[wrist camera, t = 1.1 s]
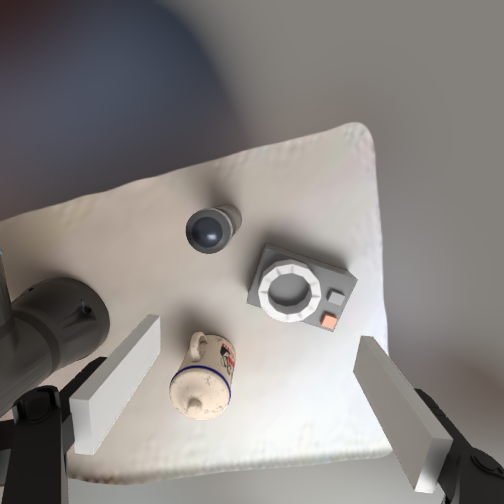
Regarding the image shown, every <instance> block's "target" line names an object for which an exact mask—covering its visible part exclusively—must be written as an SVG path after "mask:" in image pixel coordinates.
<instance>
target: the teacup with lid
mask: <svg viewBox="0 0 504 504" xmlns="http://www.w3.org/2000/svg"><path fill="white" fill-rule="evenodd" d="M235 360H236V355H235V351H234V349H233V347H232V345H231V344H230V343H229V342H228V341H227V340H225V339H224V338H222V337H219V336H216V335H204V333H202V332H196V333H194V334H193V336H192V338H191V341H190V348H189V350H188V352H187V354H186V356H185V358H184V360H183V362H182V364H181V366H180V368H179V370H178V372H177V373H176V374H175V375H174V377H173V378H172V380H171V383H170V398H171V401H172V403H173V405H174V406H175V408H176V409H177V410H178V411H179V412H180V413H182V414H183V415H185V416H187V417H189V418H192V419H196V420H208V419H212V418H214V417H216V416H218V415H220V414H221V413H222V412H223V411H224V410H225V409H226V407H227V405H228V404H229V401H230V397H231V390H230V388H231V383H232V377H233V371H234V366H235Z"/></svg>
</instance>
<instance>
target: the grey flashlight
mask: <svg viewBox="0 0 504 504" xmlns="http://www.w3.org/2000/svg"><path fill="white" fill-rule="evenodd" d="M241 222H242V218H241V214H240V212H239V211H238V210H237V209H236V208H235V207H233V206H231V205H222V206H218V207H214V208H206V209H202V210H199V211H198V212H196V213H195V214H193V215H192V216H191V217H190V219H189V220H188V222H187V225H186V237H187V240H188V242H189V243H190V245H191V246H192V247H193V248H194V249H196V250H197V251H199V252H201V253H205V254H212V253H216V252H218V251H220V250H222V249H223V248H225V247H226V246H227V244H228V243H229V242H230V240H231V238H232V237H233V235H234V234H235V233H236V231H237V230H238V229H239V228H240V226H241Z"/></svg>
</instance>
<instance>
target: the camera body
mask: <svg viewBox="0 0 504 504" xmlns="http://www.w3.org/2000/svg"><path fill="white" fill-rule="evenodd" d="M357 280H358V279H356V278H355V277H354V276H353V275H352V274H351V273H350V272H349V271H347V270H344V269H341V268H338V267H335V266H332V265H329V264H326V263H323V262H320V261H317V260H314V259H311V258H309V257H306V256H303V255H300V254H297V253H294V252H291V251H288V250H285V249H282V248H279V247H276V246H273V245H270V244H267V243H266V244H265V247H264V250H263V253H262V256H261V258H260V261H259V264H258V267H257V270H256V272H255V275H254V278H253V281H252V284H251V286H250V289H249V292H248V297H247V303H248V304H251V305H254V306H257V307H260V308H263V309H264V310H265V311H266V312H267V313H268V314H269V315H270V317H271V318H274V319H277V320H280V321H283V322H286V323H288V322H295V321H301V322H304V323H307V324H310V325H313V326H316V327H319V328H322V329H325V330H328V331H331V332H333V331H334V329H335V327H336V325H337V322H338V320H339V318H340V316H341V314H342V312H343V310H344V308H345V306H346V304H347V301H348V299H349V297H350V295H351V293H352V291H353V289H354V287H355V285H356V283H357Z"/></svg>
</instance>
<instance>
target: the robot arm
mask: <svg viewBox="0 0 504 504" xmlns="http://www.w3.org/2000/svg"><path fill="white" fill-rule="evenodd" d="M1 254H2V250H0V418H1V417H2V416H3V415H4V414H6V413H7V412H8V411H9V410H10V409H11V408H12V411H13V417H14V419H11V420H6V421H0V484H4V483H5V486H4V491H3V497H2V503H1V504H68V472H67V451H68V450H69V449H70V447H71V446H72V445H73V443H74V445H75V453H77V454H86V455H94V454H95V452H96V451H97V449H98V448H99V446H100V445H101V443H102V442H103V440H104V439H105V437H106V435H107V434H108V432H109V431H110V429H111V428H112V426H113V425H114V423H115V422H116V420H117V418H118V417H119V415H120V414H121V412H122V411H123V409H124V408H125V406H126V404H127V403H128V401H129V400H130V398H131V397H132V395H133V394H134V392H135V391H136V389H137V387H138V386H139V384H140V383H141V381H142V380H143V378H144V377H145V375H146V374H147V372H148V370H149V369H150V367H151V366H152V364H153V363H154V361H155V360H156V358H157V357H158V355H159V353H160V315H150V314H149V315H148V316H147V317H146V318H145V319H144V320H143V321H142V322H141V323H140V324H139V325H138V326H137V327H136V328H135V329H134V330H133V331H132V333H131V334H130V335H129V336H128V337H127V338H126V339H125V340H124V341H123V342H122V343H121V344H120V345H119V346H118V347H117V348H116V349H115V350H114V352H113V353H112V354H111V355H110V356H109V357H98V358H97V359H95V360H93V361H92V362H90V363H89V364H88V365H87V366H86V367H85V368H84V369H82V370H81V372H79V373H78V374H77V375H76V376H75V378H74V379H72V380H71V381H70V382H69V383H68V384H67V385H66V386H65V387H64V388H63V389H62V390H61V391H60V392H59V391H58V389H57V387H55V386H52V385H45V386H41V387H37V386H38V385H39V384H40V383H42V382H43V381H44V380H45V379H46V378H48V377H49V376H50V375H51V374H52V373H53V372H55V371H57V370H59V369H61V368H63V367H65V366H67V365H69V364H71V363H73V362H75V361H78V360H81V359H83V358H85V357H87V356H89V355H90V354H92V353H93V352H94V351H95V350H96V349H97V348H98V347H100V346H101V345H102V343H103V342H104V341H105V339H106V338H107V335H108V332H109V326H110V322H109V315H108V312H107V309H106V307H105V305H104V303H103V302H102V300H101V299H100V297H99V296H98V295H97V294H96V293H95V292H94V291H93V290H92V289H90V288H89V287H88V286H86V285H84V284H82V283H81V282H78V281H76V280H73V279H68V278H52V279H48V280H45V281H43V282H40V283H38V284H35V285H33V286H32V287H30V288H28V289H27V290H26V291H25V292H23V293H22V295H21V296H19V297H18V298H16V299H15V300H14V301H13V302H12V303H11V301H10V297H9V292H8V288H7V283H6V279H5V274H4V268H3V263H2V258H1ZM353 373H354V375H355V376H356V378H357V380H358V382H359V384H360V386H361V388H362V390H363V392H364V394H365V396H366V398H367V400H368V402H369V404H370V406H371V408H372V410H373V412H374V413H375V415H376V417H377V419H378V421H379V423H380V425H381V427H382V429H383V431H384V433H385V435H386V437H387V439H388V441H389V443H390V445H391V447H392V448H393V450H394V452H395V454H396V456H397V458H398V460H399V462H400V464H401V466H402V468H403V470H404V472H405V474H406V475H407V478H408V480H409V482H410V484H411V485H412V487H413V489H414V491H417V492H425V493H434V491H435V489H436V486H437V483H439V484H440V486H441V488H442V489H443V491H444V493H445V495H444V498H443V501H442V503H441V504H504V469H503V467H502V466H501V465H500V464H499V463H498V462H497V461H496V460H495V459H493V458H492V457H491V456H489V455H488V454H486V453H485V452H483V451H481V450H478V449H476V448H473V447H472V446H471V445H470V444H469V443H468V441H467V440H466V439H465V438H464V436H463V435H462V434H461V433H460V432H459V430H458V429H457V428H456V427H455V426H454V424H453V423H452V422H451V421H450V420H449V419H448V418H447V417H446V415H445V414H444V412H443V411H442V410H441V409H439V406H438V405H437V404H436V403H435V402H434V400H433V399H432V398H431V397H430V396H428V395H427V394H426V393H425V392H423V391H422V390H421V389H414V388H413V387H412V386H411V385H410V384H409V382H408V381H407V380H406V378H405V377H404V376H403V375H402V373H401V372H400V371H399V369H398V368H397V367H396V366H395V364H394V363H393V362H392V360H391V359H390V358H389V357H388V355H387V354H386V353H385V351H384V350H383V349H382V348H381V346H380V345H379V344H378V343H377V341H376V340H375V339H374V337H370V336H361V338H360V343H359V347H358V352H357V356H356V361H355V366H354V370H353ZM36 387H37V388H36Z"/></svg>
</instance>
